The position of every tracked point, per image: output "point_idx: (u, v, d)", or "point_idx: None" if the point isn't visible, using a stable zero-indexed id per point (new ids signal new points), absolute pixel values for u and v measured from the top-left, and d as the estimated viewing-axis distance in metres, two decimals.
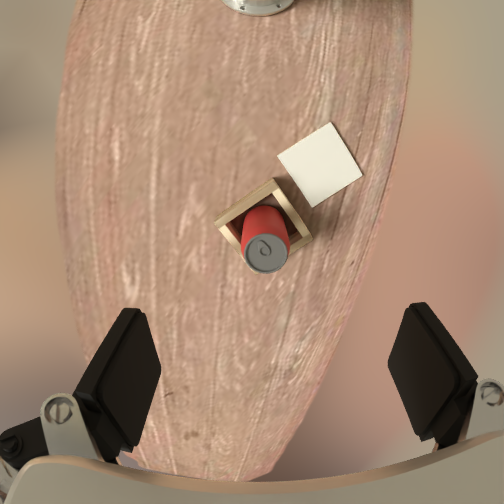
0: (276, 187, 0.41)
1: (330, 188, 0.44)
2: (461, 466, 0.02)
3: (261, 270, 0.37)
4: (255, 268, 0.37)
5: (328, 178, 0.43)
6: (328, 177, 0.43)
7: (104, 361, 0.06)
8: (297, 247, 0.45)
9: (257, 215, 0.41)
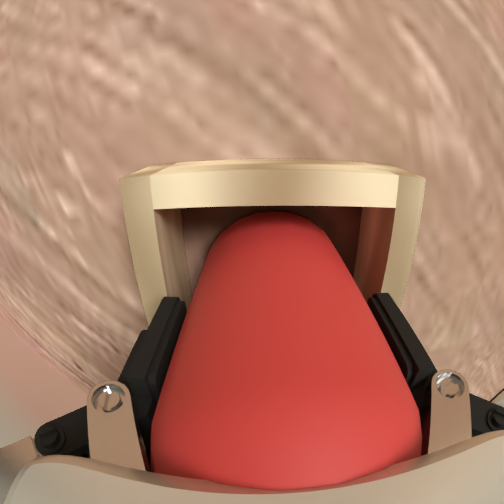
0: None
1: None
2: (461, 466, 0.02)
3: None
4: None
5: None
6: None
7: (153, 346, 0.07)
8: None
9: None
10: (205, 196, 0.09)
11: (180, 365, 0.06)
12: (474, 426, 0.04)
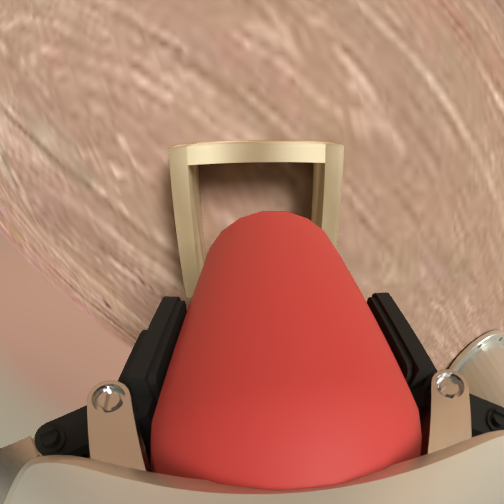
0: None
1: None
2: (461, 466, 0.02)
3: None
4: None
5: None
6: None
7: (153, 347, 0.07)
8: (184, 265, 0.20)
9: None
10: (217, 157, 0.17)
11: (180, 364, 0.06)
12: (474, 426, 0.04)
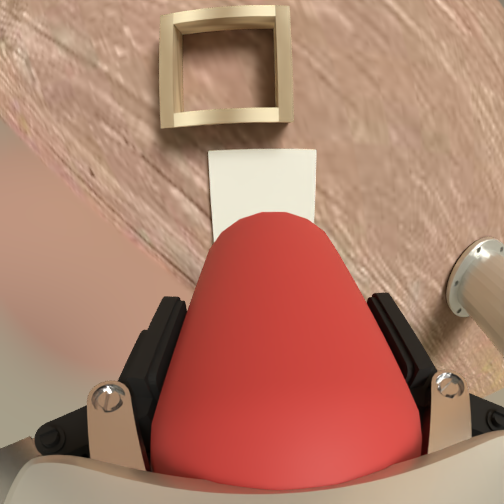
0: (281, 119, 0.21)
1: (220, 193, 0.27)
2: (461, 466, 0.02)
3: None
4: None
5: (238, 199, 0.27)
6: (238, 200, 0.27)
7: (153, 346, 0.07)
8: (162, 96, 0.20)
9: None
10: (194, 17, 0.17)
11: (180, 366, 0.06)
12: (474, 426, 0.04)
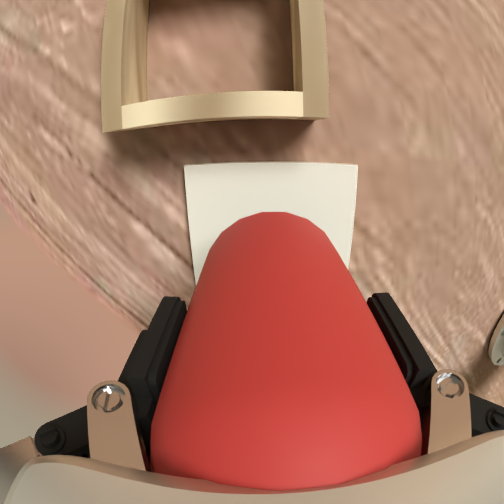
0: (308, 112, 0.12)
1: (205, 233, 0.17)
2: (461, 466, 0.02)
3: None
4: None
5: None
6: None
7: (153, 347, 0.07)
8: (105, 80, 0.11)
9: None
10: None
11: (180, 366, 0.06)
12: (474, 426, 0.04)
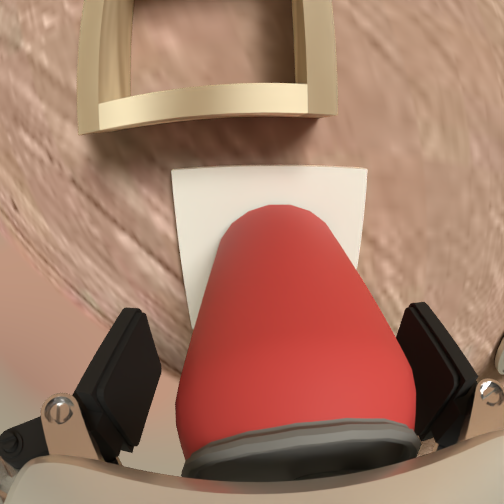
0: (314, 108, 0.10)
1: (196, 245, 0.15)
2: (461, 466, 0.02)
3: None
4: (260, 447, 0.04)
5: None
6: None
7: (104, 361, 0.06)
8: (81, 75, 0.09)
9: None
10: None
11: (205, 329, 0.07)
12: None
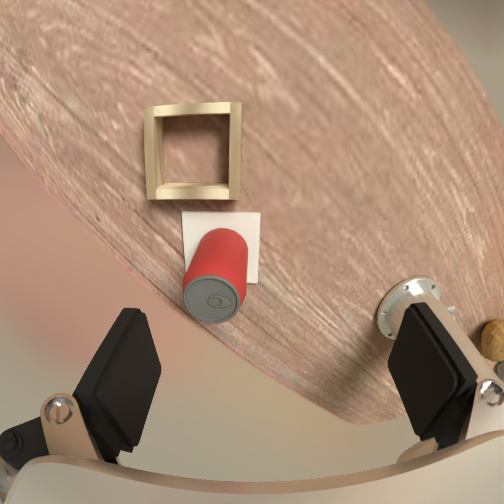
0: (231, 197, 0.32)
1: (190, 242, 0.37)
2: (461, 466, 0.02)
3: (193, 283, 0.26)
4: (199, 279, 0.26)
5: None
6: None
7: (104, 361, 0.06)
8: (147, 176, 0.31)
9: None
10: (169, 112, 0.28)
11: (192, 263, 0.29)
12: None
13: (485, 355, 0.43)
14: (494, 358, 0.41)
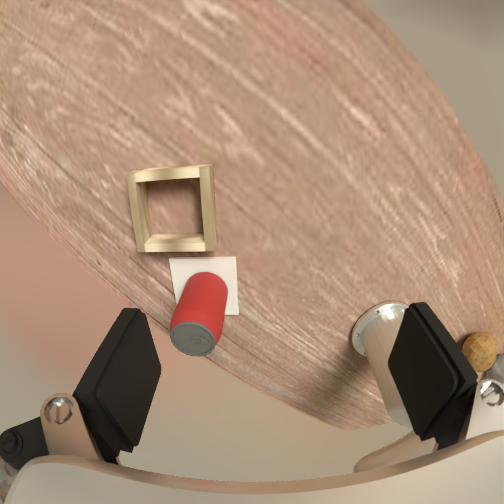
0: (207, 249, 0.38)
1: (178, 283, 0.43)
2: (461, 466, 0.02)
3: (177, 327, 0.32)
4: (181, 325, 0.32)
5: None
6: None
7: (104, 361, 0.06)
8: (136, 233, 0.37)
9: None
10: (148, 178, 0.34)
11: (176, 308, 0.35)
12: None
13: None
14: (476, 369, 0.45)
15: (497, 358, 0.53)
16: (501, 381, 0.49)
